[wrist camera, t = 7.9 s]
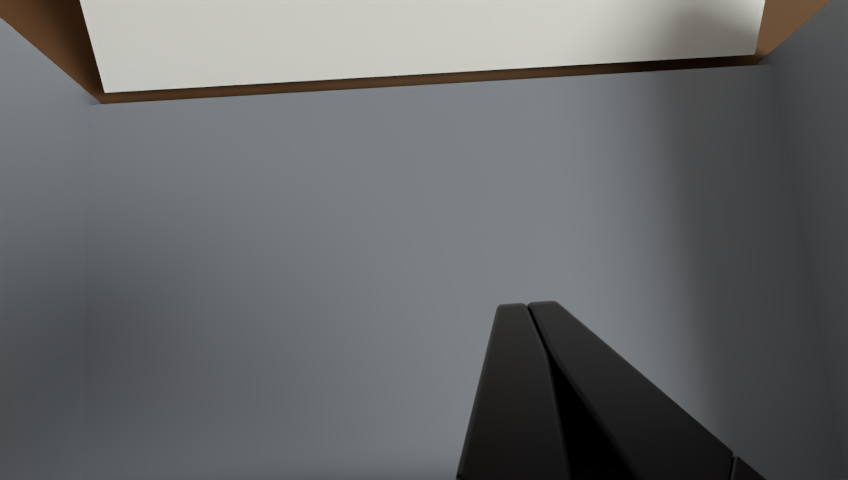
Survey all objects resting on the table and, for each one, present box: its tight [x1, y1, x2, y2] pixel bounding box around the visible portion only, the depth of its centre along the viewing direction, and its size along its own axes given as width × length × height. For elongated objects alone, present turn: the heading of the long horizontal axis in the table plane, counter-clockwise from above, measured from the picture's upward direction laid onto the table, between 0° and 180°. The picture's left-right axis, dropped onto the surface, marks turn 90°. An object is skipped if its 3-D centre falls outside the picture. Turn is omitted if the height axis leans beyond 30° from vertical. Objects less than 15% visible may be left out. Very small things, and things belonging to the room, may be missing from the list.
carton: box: [0, 0, 848, 480], centre depth 18 cm, size 15×25×7 cm, turn 94°
